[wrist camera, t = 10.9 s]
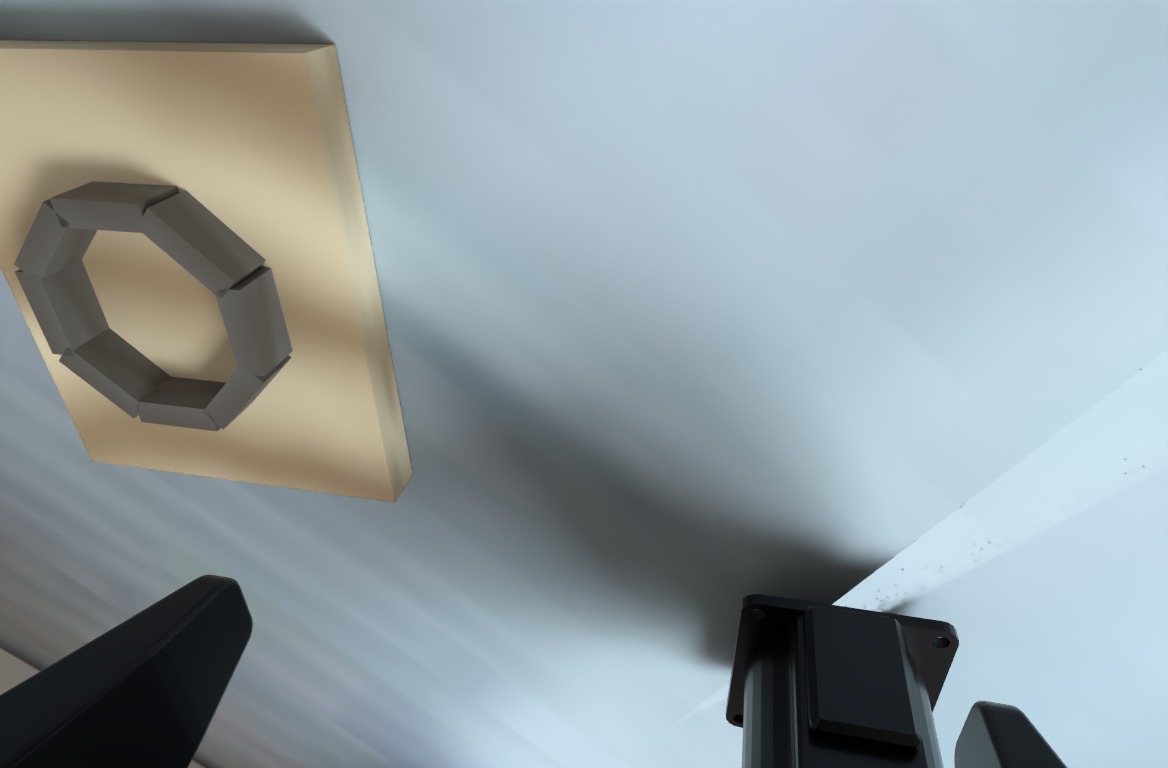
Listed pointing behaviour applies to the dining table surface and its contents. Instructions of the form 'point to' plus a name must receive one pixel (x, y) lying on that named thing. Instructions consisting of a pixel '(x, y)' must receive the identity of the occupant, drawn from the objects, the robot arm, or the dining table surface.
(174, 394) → the eye plate
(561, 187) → the dining table surface
